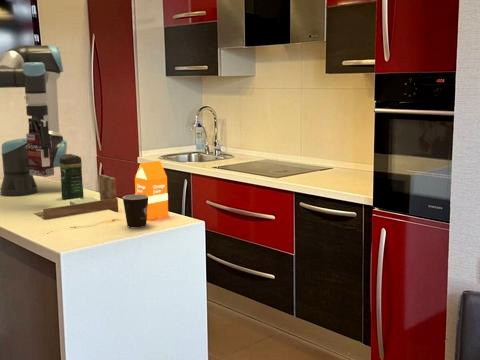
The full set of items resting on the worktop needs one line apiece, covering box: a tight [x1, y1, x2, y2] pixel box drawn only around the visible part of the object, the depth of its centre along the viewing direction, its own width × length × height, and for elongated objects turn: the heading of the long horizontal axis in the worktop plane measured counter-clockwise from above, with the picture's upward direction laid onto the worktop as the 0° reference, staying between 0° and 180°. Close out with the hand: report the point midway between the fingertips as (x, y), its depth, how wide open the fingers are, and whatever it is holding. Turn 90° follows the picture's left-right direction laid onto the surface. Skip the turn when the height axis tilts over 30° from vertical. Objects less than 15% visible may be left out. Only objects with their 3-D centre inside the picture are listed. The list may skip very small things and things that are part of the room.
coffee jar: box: [59, 153, 84, 201], centre depth 245 cm, size 10×8×19 cm
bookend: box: [69, 197, 100, 205], centre depth 222 cm, size 8×3×9 cm
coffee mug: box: [122, 193, 148, 228], centre depth 202 cm, size 12×9×10 cm
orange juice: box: [134, 160, 169, 221], centre depth 214 cm, size 8×9×20 cm
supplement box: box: [26, 132, 55, 178], centre depth 224 cm, size 9×5×16 cm, turn 62°
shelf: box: [32, 174, 119, 221], centre depth 219 cm, size 12×28×12 cm, turn 128°
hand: (41, 164), depth 225 cm, fingers closed on supplement box, 9 cm apart
